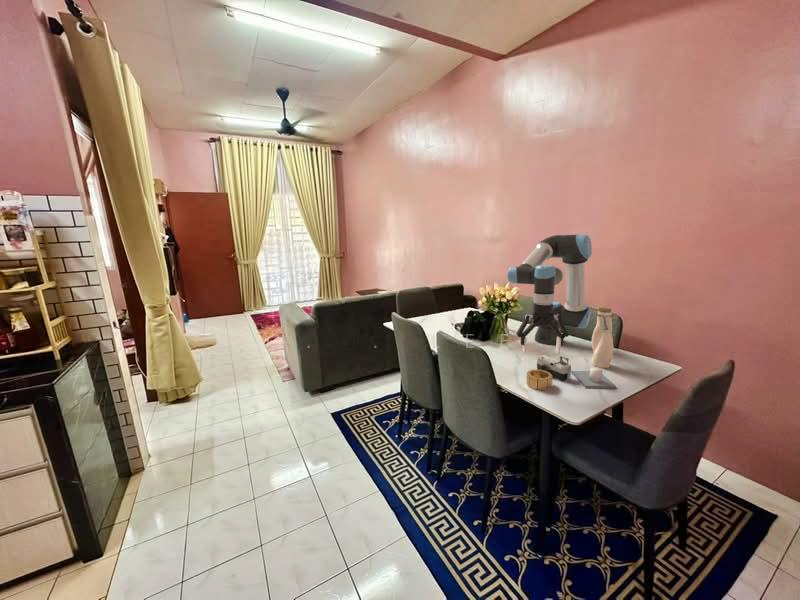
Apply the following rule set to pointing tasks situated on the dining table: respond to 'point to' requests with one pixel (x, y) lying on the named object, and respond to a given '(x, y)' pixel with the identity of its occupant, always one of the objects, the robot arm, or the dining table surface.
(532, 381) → the ring
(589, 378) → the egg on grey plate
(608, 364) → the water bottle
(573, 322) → the robot arm
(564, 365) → the camera
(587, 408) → the dining table surface
